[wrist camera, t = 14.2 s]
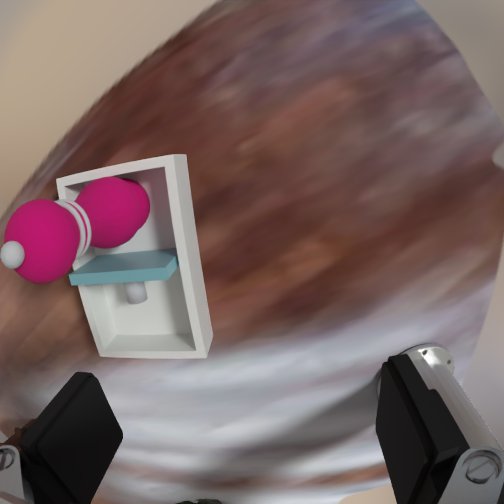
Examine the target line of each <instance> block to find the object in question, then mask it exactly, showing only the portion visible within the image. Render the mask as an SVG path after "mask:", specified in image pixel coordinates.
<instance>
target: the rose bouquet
mask: <svg viewBox="0 0 504 504" xmlns="http://www.w3.org/2000/svg"><path fill="white" fill-rule="evenodd" d="M198 501H199V502H198V503H193V502H190V501H184V502H181V503H177V504H221V503H220V502H219V501H218V500H210V499H199V500H198Z"/></svg>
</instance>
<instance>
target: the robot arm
mask: <svg viewBox="0 0 504 504" xmlns="http://www.w3.org/2000/svg"><path fill="white" fill-rule="evenodd" d="M453 373H454V360H453V357H452V356H451V354H450V353H449V352H448V350H447V349H446V348H444V347H442V346H441V345H437V344H423V345H419V346H416V347H413V348H411V349H409V350H407V351H405V352H404V353H402V354H401V355H395V356H390V357H389V358H388V362H384V363H383V364H382V373H381V377H380V379H379V382H378V386H377V395H378V399H379V402H378V410H377V417H376V432H377V436H378V439H379V442H380V446H381V449H382V452H383V456H384V459H385V462H386V466H387V469H388V473H389V476H390V480H391V483H392V487H393V490H394V494H395V498H396V501H397V504H504V450H503V449H502V447H501V446H500V444H499V443H498V441H497V440H496V438H495V437H494V435H493V434H492V432H491V431H490V429H489V428H488V426H487V425H486V423H485V421H484V420H483V418H482V417H481V415H480V414H479V412H478V411H477V409H476V408H475V406H474V405H473V403H472V402H471V400H470V399H469V398H468V396H467V395H466V393H465V392H464V390H463V389H462V387H461V386H460V385H459V383H458V382H457V380H456V379H455V378H454V376H453ZM122 439H123V432H122V430H121V428H120V426H119V424H118V422H117V420H116V418H115V416H114V413H113V411H112V409H111V407H110V405H109V403H108V401H107V399H106V396H105V394H104V392H103V390H102V387H101V385H100V383H99V381H98V379H97V378H96V377H95V376H94V375H93V374H92V373H87V372H76V373H75V374H74V375H73V376H72V377H71V378H70V379H69V381H68V382H67V383H66V384H65V385H64V387H63V388H62V389H61V390H60V391H59V392H58V394H57V395H56V396H55V397H54V398H53V400H52V401H51V402H50V403H49V404H48V406H47V407H46V408H45V409H44V410H43V412H42V413H41V414H40V415H39V416H38V418H37V419H36V420H35V421H34V423H33V424H32V425H31V426H30V427H29V429H28V430H27V431H26V432H25V434H24V435H23V436H22V437H21V439H20V440H19V441H18V442H17V443H18V445H19V446H20V448H21V449H22V450H21V451H20V452H19V451H18V450H17V449H16V448H15V447H13V446H11V445H4V446H0V504H90V503H91V501H92V499H93V497H94V495H95V493H96V491H97V489H98V487H99V485H100V483H101V481H102V479H103V477H104V475H105V473H106V471H107V469H108V467H109V465H110V463H111V461H112V459H113V457H114V455H115V453H116V451H117V449H118V447H119V445H120V443H121V442H122Z"/></svg>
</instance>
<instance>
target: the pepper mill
mask: <svg viewBox="0 0 504 504" xmlns="http://www.w3.org/2000/svg"><path fill="white" fill-rule="evenodd" d="M149 213H150V200H149V196H148V194H147V192H146V190H145V189H144V187H143V186H142V185H141V184H139V183H138V182H136V181H135V180H132V179H127V178H122V179H120V178H117V177H102V178H99V179H96V180H94V181H92V182H90V183H89V184H88V185H87V186H86V187H84V188H83V189H82V191H81V192H80V193H79V195H78V196H77V198H76V200H75V201H72V200H69V199H61V200H57V201H51V200H47V199H37V200H32V201H29V202H27V203H25V204H23V205H22V206H20V207H19V208H18V209H17V210H16V211H15V212H14V213H13V215H12V216H11V218H10V220H9V222H8V224H7V227H6V230H5V237H4V241H5V244H4V245H3V247H2V249H1V253H0V257H1V261H2V263H3V264H4V265H5V266H6V267H7V268H10V269H14V270H15V271H16V272H17V273H18V274H19V275H20V276H21V277H23V278H24V279H26V280H28V281H30V282H33V283H39V284H42V283H50V282H53V281H55V280H57V279H59V278H61V277H62V276H64V275H65V274H66V273H67V272H68V271H69V269H70V268H71V267H72V265H73V263H74V261H75V260H77V259H78V258H80V257H82V256H83V255H84V254H85V252H86V251H87V249H88V248H89V246H93V247H97V248H102V249H108V248H115V247H118V246H120V245H122V244H125V243H126V242H128V241H129V240H130V239H131V238H132V237H133V236H134V235H135V234H136V232H137V231H138V229H140V228H141V227H142V226H143V225H144V224H145V223H146V221H147V219H148V216H149Z"/></svg>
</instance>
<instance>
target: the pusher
mask: <svg viewBox="0 0 504 504" xmlns="http://www.w3.org/2000/svg"><path fill="white" fill-rule="evenodd" d="M178 266H179V260H178V254H177V248H170V249H159V250H149V251H139V252H128V253H118V254H108V255H98V256H96V257H95V258H93V259H92V260H90V261H88V262H87V263H85V264H84V265H82V266H81V267H79V268H78V269H76V270H75V271H73V272H72V273H70V274H69V278H70V282H71V286H72V285H91V284H108V283H123V286H124V291H125V295H126V299H127V302H128V304H140V303H143V302H145V301H146V300H147V299H148V297H147V292H146V288H145V283H144V281H156V280H168V279H169V278H170V276H171V275H172V274H173V272H174V271H175V270H176V269H177V267H178Z"/></svg>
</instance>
